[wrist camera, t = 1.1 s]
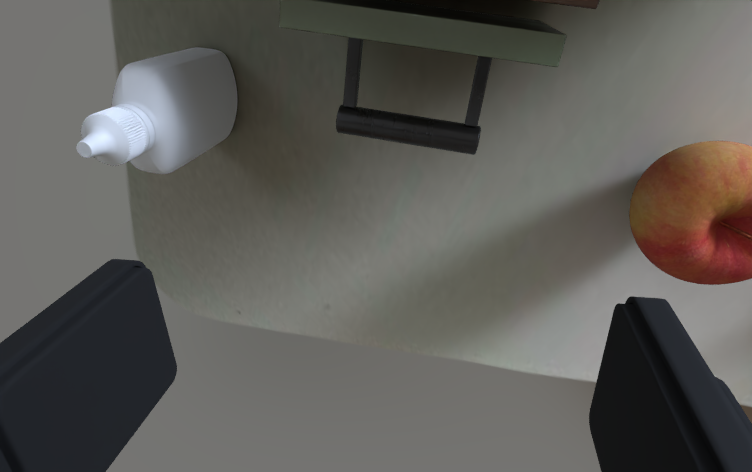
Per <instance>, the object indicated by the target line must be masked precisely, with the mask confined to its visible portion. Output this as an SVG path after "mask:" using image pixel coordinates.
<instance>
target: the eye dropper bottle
mask: <svg viewBox="0 0 752 472" xmlns="http://www.w3.org/2000/svg"><path fill="white" fill-rule="evenodd" d="M237 103H238V97H237V87H236V81H235V77H234V73H233V70H232V67H231V64H230V62H229V60H228V58H227V56H226V55H225V54H224V53H223V52H221V51H219V50H215V49H209V48H202V47H194V48H190V49H185V50H181V51H177V52H173V53H168V54H164V55H160V56H156V57H152V58H148V59H144V60H140V61H136V62H133V63H129V64H127V65H126V66H125V67H124V68H123V69H122V70H121V72H120V74H119V76H118V79H117V82H116V85H115V88H114V92H113V97H112V107H111V108H108V109H105V110H102V111H99V112H96V113H94V114H91V115H89V116H88V117H87V118H86V119H85V120H84V122H83V124H82V129H81V136H82V140H81V141H80V142H79V143H78V144H77V146H76V148H77V151H78V153H79V154H80V155H81V156H82V157H85V158H88V157H94V158H96V159H97V160H98V161H100V162H102V163H104V164H107V165H113V166H114V165H115V166H117V165H121V164H124V163H126V162H128V161H130V162H131V164H132V165H134V166H135V167H136V168H137V169H139V170H141V171H145V172H150V173H156V174H167V173H171V172H173V171H175V170H177V169H179V168H180V167H182V166H184V165H185V164H187V163H188V162H190V161H192V160H193V159H195V158H196V157H198V156H200V155H201V154H203V153H204V152H206V151H207V150H209V149H211V148H212V147H214V146H215V145H217V144H218V143H220V142H221V141H223V140H224V139H226V138H227V137H228V136H229V134H230V132H231V130H232V128H233V125H234V122H235V118H236V113H237Z"/></svg>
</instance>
